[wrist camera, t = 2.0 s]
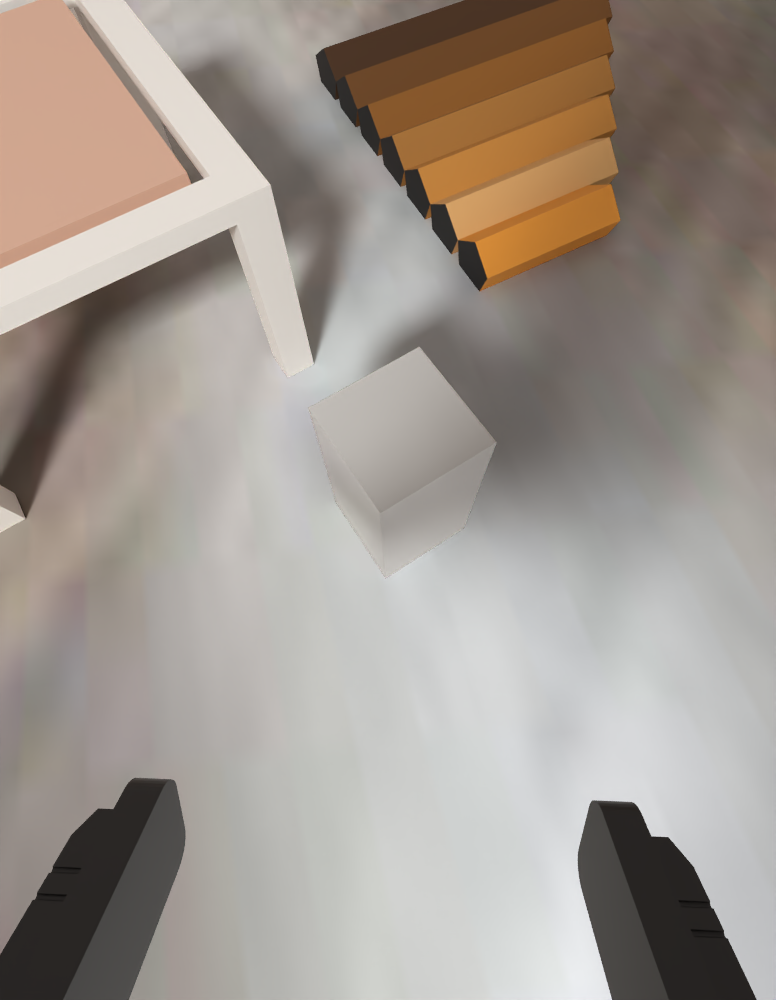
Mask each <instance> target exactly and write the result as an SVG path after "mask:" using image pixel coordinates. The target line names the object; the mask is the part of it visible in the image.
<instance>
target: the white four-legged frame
mask: <svg viewBox="0 0 776 1000" xmlns="http://www.w3.org/2000/svg"><path fill="white" fill-rule="evenodd" d="M35 1H37V0H0V14H1V13H3V12H6V11H9V10H12V9H15V8H18V7H20V6H23V5H26V4H29V3H32V2H35ZM63 1H64V3H65V4H66V6H67V7H68V8H69V9H71V8H74V10H75V12H76V14H77V16H78V19H79V21H80V23H81V25H82V27H83V29H84V30H85V32H86V33H87V35H88V36H89V37H90V39H91V40H92V42H93V43H94V44H95V46H96V47H97V49H98V50H99V51H100V53H101V54H102V55H103V57H104V58H105V60H106V61H107V62H108V64H109V65H110V67H111V68H112V69H113V71H114V72H115V74H116V75H117V76H118V78H119V79H120V80H121V82H122V83H123V85H124V86H125V87H126V89H127V90H128V92H129V93H130V94H131V96H132V97H133V98H134V100H135V101H136V103H137V104H138V105H139V107H140V108H141V110H142V111H143V112H144V114H145V115H146V117H147V118H148V119H149V121H150V122H151V123H152V125H153V126H154V128H155V129H156V130H157V132H158V133H159V135H160V136H161V137H162V139H163V140H164V142H165V143H166V144H167V146H168V147H169V148H170V150H171V151H172V153H173V154H174V152H173V150H172V147H171V145H170V142H169V140H168V137H167V135H166V132H165V130H164V127H163V125H162V122H163V124H164V125H165V127H166V128H167V129H168V131H169V132H170V133H171V135H172V136H173V137H174V139H175V140H176V142H177V143H178V144H179V146H180V147H181V148H182V150H183V151H184V152H185V154H186V155H187V157H188V158H189V159H190V161H191V162H192V163H193V165H194V166H195V168H196V169H197V170H198V172H199V173H200V174H201V176H202V177H203V178H204V179H202V180H200V181H198V182H195V183H193V184H191V185H189V186H186V187H184V188H182V189H180V190H177V191H175V192H173V193H170V194H168V195H166V196H164V197H161V198H159V199H157V200H155V201H152V202H150V203H148V204H146V205H143V206H141V207H139V208H137V209H134V210H132V211H130V212H128V213H125V214H123V215H121V216H119V217H116V218H114V219H112V220H109V221H107V222H105V223H103V224H100V225H98V226H96V227H94V228H91V229H89V230H87V231H85V232H82V233H80V234H78V235H76V236H73V237H71V238H69V239H67V240H64V241H62V242H60V243H58V244H55V245H53V246H51V247H48V248H46V249H44V250H42V251H39V252H37V253H35V254H33V255H30V256H28V257H26V258H24V259H21V260H19V261H17V262H15V263H12V264H10V265H8V266H6V267H3V268H1V269H0V335H1V334H3V333H5V332H8V331H10V330H12V329H14V328H16V327H18V326H20V325H23V324H25V323H27V322H29V321H31V320H33V319H35V318H38V317H40V316H42V315H44V314H46V313H48V312H50V311H53V310H55V309H57V308H59V307H61V306H63V305H65V304H68V303H70V302H72V301H74V300H76V299H78V298H80V297H83V296H85V295H87V294H89V293H91V292H93V291H96V290H98V289H100V288H102V287H104V286H106V285H108V284H111V283H113V282H115V281H117V280H119V279H121V278H123V277H126V276H128V275H130V274H132V273H134V272H136V271H138V270H141V269H143V268H145V267H147V266H149V265H151V264H153V263H156V262H158V261H160V260H162V259H164V258H166V257H168V256H171V255H173V254H175V253H177V252H179V251H181V250H184V249H186V248H188V247H190V246H192V245H194V244H196V243H199V242H201V241H203V240H205V239H207V238H209V237H211V236H214V235H216V234H218V233H220V232H222V231H224V230H226V229H229V231H230V234H231V237H232V240H233V242H234V245H235V248H236V251H237V254H238V257H239V260H240V262H241V265H242V268H243V271H244V274H245V277H246V279H247V282H248V285H249V288H250V291H251V294H252V296H253V299H254V302H255V305H256V308H257V311H258V313H259V316H260V319H261V322H262V325H263V328H264V331H265V333H266V336H267V339H268V342H269V345H270V348H271V350H272V353H273V356H274V358H275V360H276V361H277V363H278V364H279V366H280V367H281V368H282V370H283V371H284V373H285V374H286V376H287V377H288V378H290V377H291V376H293V375H295V374H297V373H299V372H301V371H303V370H305V369H306V368H308V367H310V366H312V365H314V362H313V358H312V354H311V350H310V346H309V342H308V337H307V333H306V329H305V325H304V321H303V317H302V313H301V309H300V304H299V300H298V296H297V292H296V288H295V284H294V280H293V276H292V271H291V267H290V263H289V259H288V255H287V251H286V247H285V243H284V238H283V234H282V230H281V226H280V222H279V218H278V214H277V210H276V205H275V201H274V197H273V193H272V189H271V185H270V183H269V182H268V181H267V180H266V178H265V177H264V176H263V175H262V173H261V172H260V171H259V170H258V168H257V167H256V166H255V165H254V163H253V162H252V161H251V159H250V158H249V157H248V156H247V154H246V153H245V152H244V151H243V149H242V148H241V147H240V146H239V144H238V143H237V142H236V141H235V139H234V138H233V137H232V136H231V134H230V133H229V132H228V131H227V129H226V128H225V127H224V125H223V124H222V123H221V122H220V120H219V119H218V118H217V117H216V115H215V114H214V113H213V112H212V110H211V109H210V108H209V107H208V105H207V104H206V103H205V102H204V100H203V99H202V98H201V97H200V95H199V94H198V93H197V91H196V90H195V89H194V88H193V86H192V85H191V84H190V83H189V81H188V80H187V79H186V78H185V76H184V75H183V74H182V73H181V71H180V70H179V69H178V68H177V66H176V65H175V64H174V63H173V61H172V60H171V59H170V57H169V56H168V55H167V54H166V52H165V51H164V50H163V49H162V47H161V46H160V45H159V44H158V42H157V41H156V40H155V39H154V37H153V36H152V35H151V34H150V32H149V31H148V30H147V29H146V27H145V26H144V25H143V23H142V22H141V21H140V20H139V18H138V17H137V16H136V15H135V13H134V12H133V11H132V10H131V8H130V7H129V6H128V5H127V3H126V2H125V1H124V0H63ZM161 121H162V122H161ZM24 519H25V516H24V514H23V511H22V509H21V507H20V504H19V502H18V500H17V497H16V495H15V493H13V492H12V491H10V490H8V489H6V488H5V487H3V486H1V485H0V532H2V531H4V530H6V529H8V528H10V527H11V526H13V525H15V524H17V523H19V522H21V521H23V520H24Z"/></svg>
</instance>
